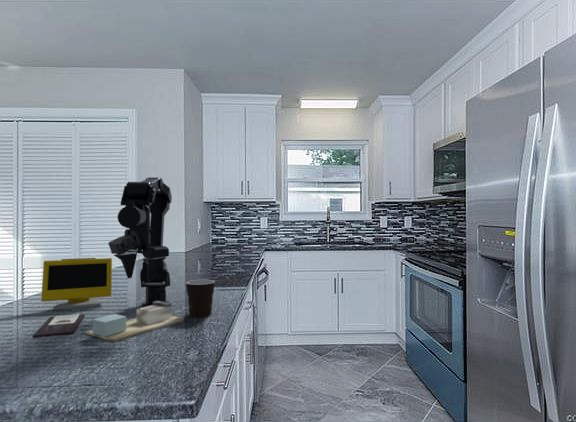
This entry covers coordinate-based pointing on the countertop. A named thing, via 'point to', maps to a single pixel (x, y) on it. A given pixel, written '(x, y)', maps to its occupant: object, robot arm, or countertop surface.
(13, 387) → the countertop surface
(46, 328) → the chocolate bar
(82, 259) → the toy computer monitor
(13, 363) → the countertop surface
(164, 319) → the board
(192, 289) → the coffee mug
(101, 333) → the stub
